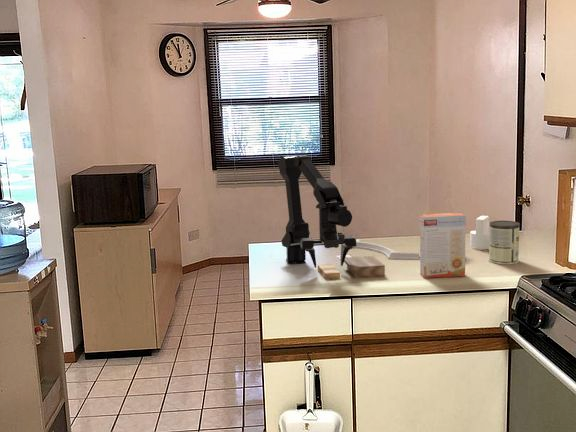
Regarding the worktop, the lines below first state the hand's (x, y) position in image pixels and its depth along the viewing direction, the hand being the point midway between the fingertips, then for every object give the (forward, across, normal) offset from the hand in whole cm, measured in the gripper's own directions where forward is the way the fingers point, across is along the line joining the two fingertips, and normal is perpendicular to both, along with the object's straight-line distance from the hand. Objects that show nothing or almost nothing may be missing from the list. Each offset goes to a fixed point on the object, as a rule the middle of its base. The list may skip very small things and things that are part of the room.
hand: (328, 266), depth 212 cm
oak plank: (+3, 0, 0) cm, 3 cm away
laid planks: (+3, +13, 0) cm, 13 cm away
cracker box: (+3, +37, -10) cm, 38 cm away
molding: (+3, +27, +31) cm, 41 cm away
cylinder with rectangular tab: (+3, +67, +26) cm, 72 cm away
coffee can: (+3, +65, +3) cm, 65 cm away
